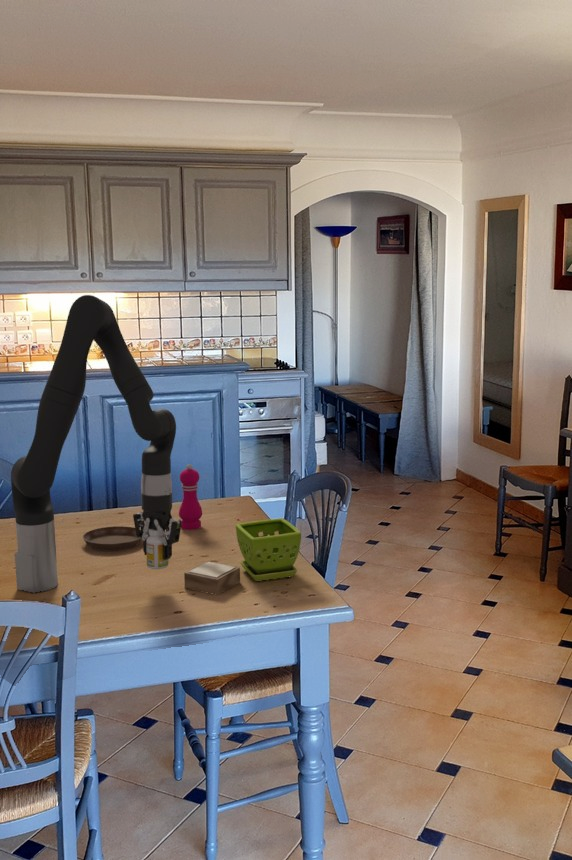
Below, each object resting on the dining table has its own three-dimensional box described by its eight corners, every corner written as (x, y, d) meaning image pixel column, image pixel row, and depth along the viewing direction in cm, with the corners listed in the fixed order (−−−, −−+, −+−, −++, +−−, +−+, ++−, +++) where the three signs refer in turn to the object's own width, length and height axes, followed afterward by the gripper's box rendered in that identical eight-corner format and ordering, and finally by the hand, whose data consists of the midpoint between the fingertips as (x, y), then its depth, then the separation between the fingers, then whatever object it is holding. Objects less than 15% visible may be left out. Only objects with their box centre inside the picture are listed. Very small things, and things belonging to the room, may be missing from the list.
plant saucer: (122, 531, 264) (121, 521, 264) (156, 543, 252) (156, 533, 251) (71, 544, 252) (70, 534, 252) (105, 558, 240) (104, 547, 239)
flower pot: (235, 569, 230) (234, 523, 227) (284, 562, 234) (283, 517, 232) (251, 586, 217) (251, 538, 214) (303, 579, 222) (303, 531, 219)
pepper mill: (175, 529, 265) (173, 466, 261) (184, 522, 272) (183, 460, 268) (197, 531, 263) (195, 467, 259) (206, 524, 270) (204, 462, 266)
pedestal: (217, 595, 211) (217, 578, 210) (184, 588, 216) (184, 571, 215) (240, 582, 219) (239, 566, 219) (208, 575, 224) (207, 560, 224)
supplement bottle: (169, 562, 218) (169, 525, 216) (167, 569, 213) (166, 531, 211) (148, 562, 218) (147, 525, 216) (145, 569, 213) (144, 531, 211)
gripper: (124, 489, 213) (125, 555, 215) (169, 498, 205) (170, 566, 208) (144, 483, 219) (145, 548, 222) (189, 491, 211) (189, 557, 214)
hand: (157, 556), depth 215 cm, fingers closed on supplement bottle, 5 cm apart
